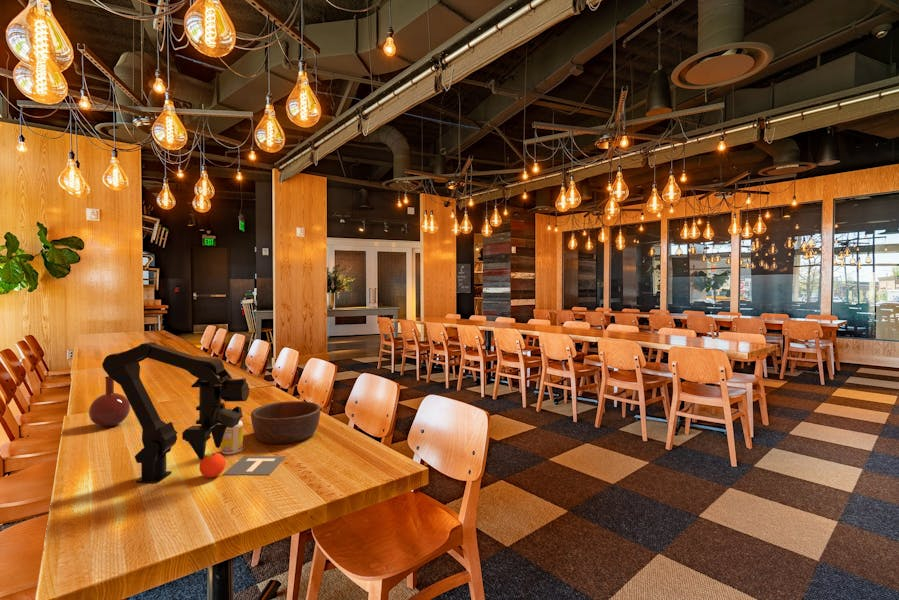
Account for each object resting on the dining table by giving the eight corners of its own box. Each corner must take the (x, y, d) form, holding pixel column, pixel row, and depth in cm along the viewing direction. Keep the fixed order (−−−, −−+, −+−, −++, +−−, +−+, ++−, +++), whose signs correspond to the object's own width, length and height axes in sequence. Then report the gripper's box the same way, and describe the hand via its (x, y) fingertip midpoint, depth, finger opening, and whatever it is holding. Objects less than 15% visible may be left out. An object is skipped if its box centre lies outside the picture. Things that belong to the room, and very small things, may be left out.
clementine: (192, 483, 124) (192, 459, 124) (198, 473, 130) (198, 450, 130) (222, 480, 126) (222, 456, 126) (227, 470, 133) (227, 447, 132)
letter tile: (269, 475, 130) (269, 474, 130) (222, 475, 129) (222, 474, 129) (285, 456, 144) (285, 456, 144) (243, 456, 143) (243, 456, 143)
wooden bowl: (262, 453, 147) (262, 423, 147) (243, 433, 166) (243, 407, 166) (331, 437, 163) (331, 411, 163) (306, 421, 182) (306, 397, 182)
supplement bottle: (239, 446, 153) (239, 410, 152) (245, 451, 148) (245, 414, 147) (219, 450, 148) (219, 414, 148) (224, 456, 143) (224, 418, 143)
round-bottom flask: (88, 425, 174) (87, 376, 173) (128, 419, 182) (128, 372, 182) (89, 433, 164) (88, 381, 163) (131, 426, 173) (131, 377, 172)
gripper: (222, 410, 119) (221, 466, 119) (251, 394, 137) (250, 442, 138) (181, 410, 118) (181, 466, 119) (216, 393, 137) (215, 442, 137)
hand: (210, 453), depth 128 cm, fingers open, 9 cm apart
